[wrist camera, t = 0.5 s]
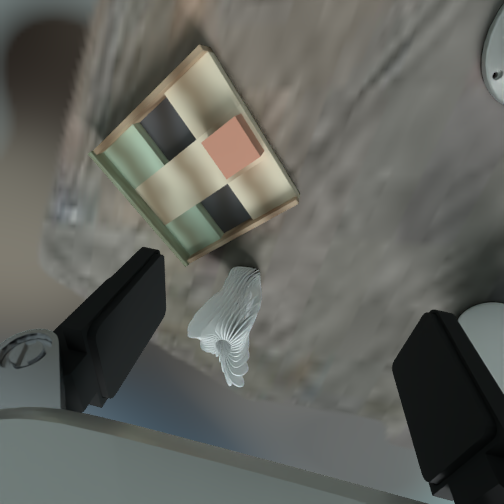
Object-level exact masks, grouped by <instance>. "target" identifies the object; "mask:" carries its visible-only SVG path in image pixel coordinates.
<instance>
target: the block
mask: <svg viewBox="0 0 504 504" xmlns="http://www.w3.org/2000/svg"><path fill="white" fill-rule="evenodd" d="M201 144H202V145H203V147H204V148H205V149H206V151H207V152H208V154H209V155H210V157H211V158H212V159H213V161H214V162H215V164H216V165H217V166H218V168H219V169H220V171H221V172H222V174H223V175H224V176H225V178H226V179H228V178H230V177H231V176H233V175H234V174H236V173H237V172H239V171H240V170H241V169H243V168H244V167H246V166H247V165H249V164H250V163H252V162H253V161H255V160H256V159H258V158H259V157H261V155H262V154H263V152H264V149H263V148H262V146H261V145H260V143H259V141H258V140H257V138H256V137H255V135H254V133H253V132H252V130H251V129H250V127H249V125H248V124H247V122H246V121H245V119H244V117H243V116H242V114H239V115H236V116H234V117H233V118H232V119H231V120H229V121H228V122H227V123H226V124H224V125H223V126H222V127H220V128H219V129H218V130H217V131H215V132H214V133H213V134H212V135H210V136H209V137H208V138H207V139H205V140H204V141H203V142H201Z"/></svg>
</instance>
